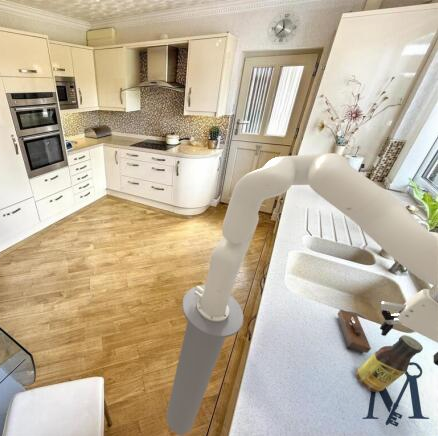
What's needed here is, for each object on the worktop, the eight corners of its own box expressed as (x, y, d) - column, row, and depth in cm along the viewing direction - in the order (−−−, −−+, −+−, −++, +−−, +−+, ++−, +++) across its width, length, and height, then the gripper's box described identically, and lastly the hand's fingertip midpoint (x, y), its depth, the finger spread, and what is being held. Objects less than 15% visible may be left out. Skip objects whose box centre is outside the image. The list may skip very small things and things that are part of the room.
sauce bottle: (359, 388, 67) (401, 348, 57) (350, 367, 72) (388, 327, 62) (386, 398, 65) (435, 358, 55) (376, 375, 70) (418, 335, 60)
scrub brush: (334, 317, 88) (342, 306, 85) (350, 322, 87) (359, 311, 83) (345, 350, 77) (355, 339, 74) (363, 356, 75) (374, 345, 72)
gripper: (518, 316, 48) (458, 362, 56) (403, 270, 58) (367, 315, 67) (526, 338, 43) (460, 385, 52) (400, 284, 54) (362, 330, 62)
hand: (408, 345), depth 59 cm, fingers open, 9 cm apart
